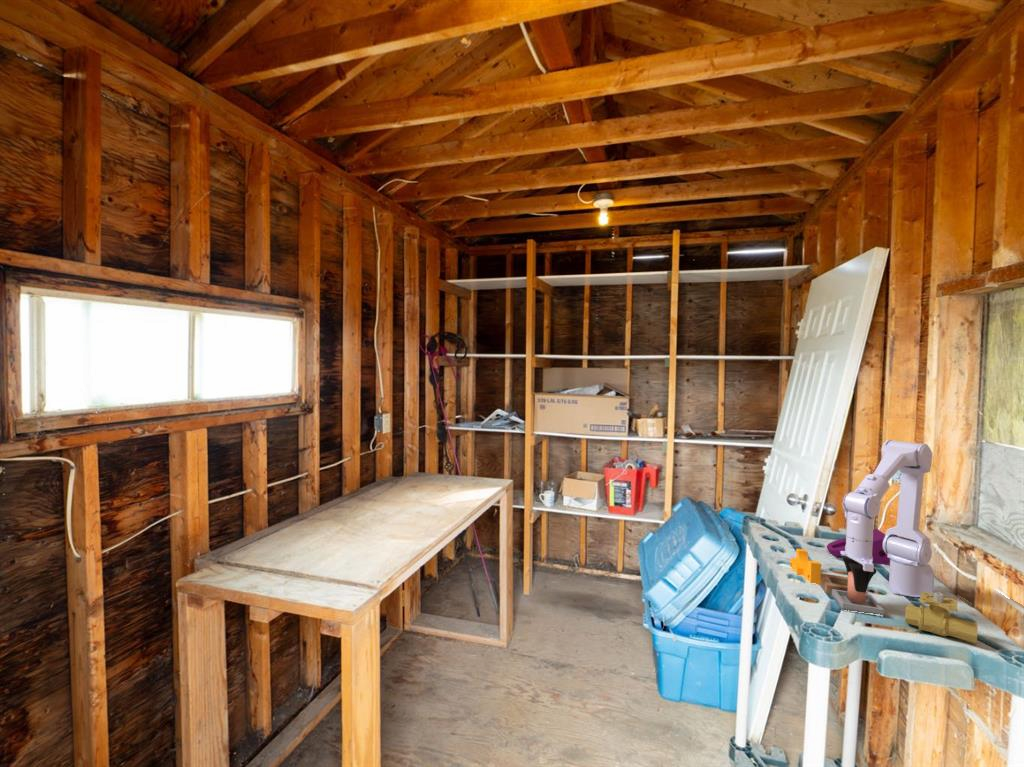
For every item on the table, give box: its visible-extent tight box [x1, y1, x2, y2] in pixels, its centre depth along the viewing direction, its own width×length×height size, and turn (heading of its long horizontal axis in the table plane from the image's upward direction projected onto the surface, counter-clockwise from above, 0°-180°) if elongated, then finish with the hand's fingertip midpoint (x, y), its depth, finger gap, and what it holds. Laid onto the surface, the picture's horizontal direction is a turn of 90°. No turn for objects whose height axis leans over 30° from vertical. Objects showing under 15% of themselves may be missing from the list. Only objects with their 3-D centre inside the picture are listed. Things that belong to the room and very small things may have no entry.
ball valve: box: [904, 591, 978, 645], centre depth 113 cm, size 13×10×10 cm
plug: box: [847, 571, 867, 604], centre depth 124 cm, size 4×4×7 cm
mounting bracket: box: [826, 528, 890, 566], centre depth 161 cm, size 9×8×18 cm
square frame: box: [819, 572, 848, 595], centre depth 134 cm, size 9×9×2 cm
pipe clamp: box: [789, 548, 822, 586], centre depth 144 cm, size 12×4×6 cm, turn 167°
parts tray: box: [831, 589, 885, 616], centre depth 124 cm, size 9×9×2 cm
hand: (857, 587), depth 124 cm, fingers closed on plug, 4 cm apart
